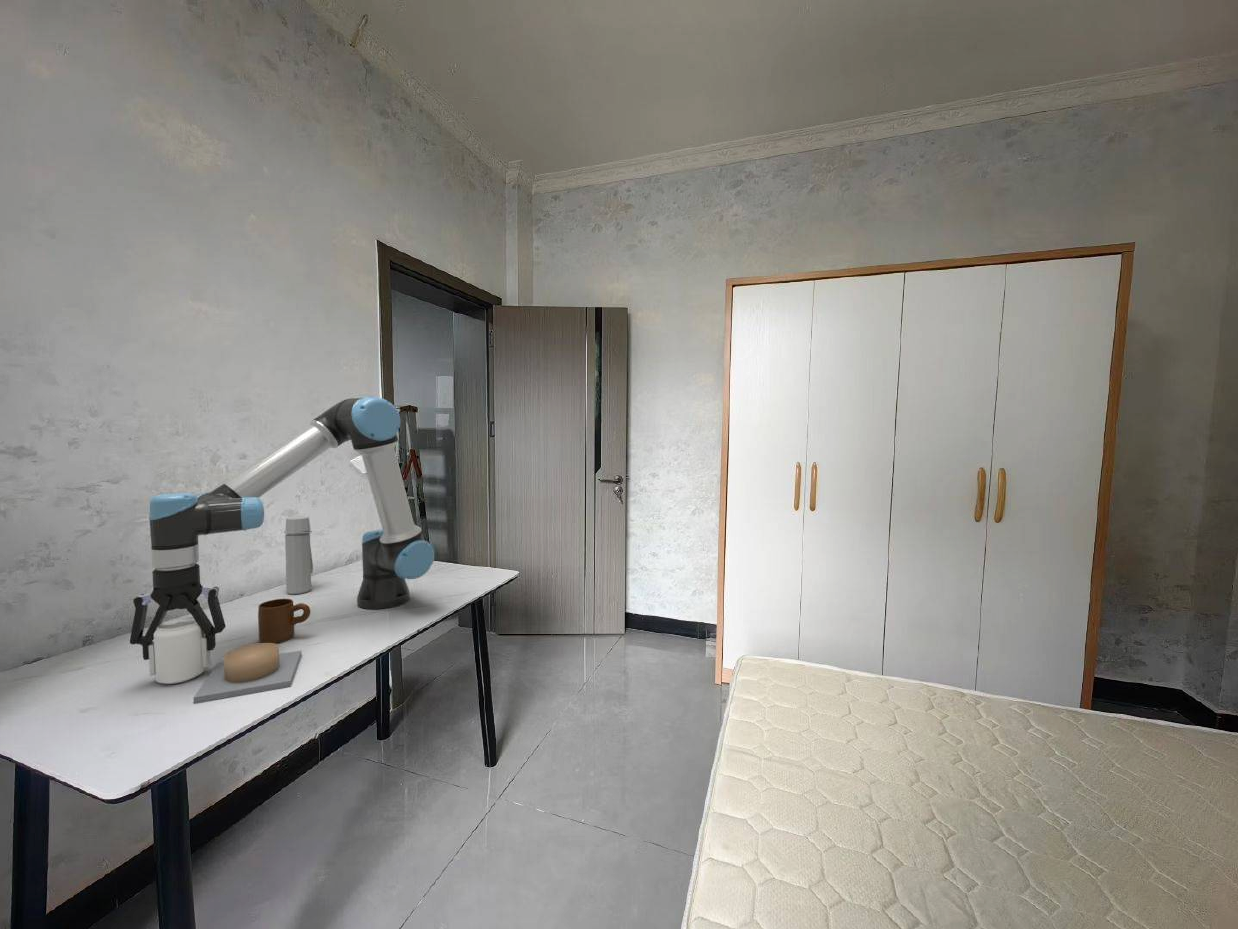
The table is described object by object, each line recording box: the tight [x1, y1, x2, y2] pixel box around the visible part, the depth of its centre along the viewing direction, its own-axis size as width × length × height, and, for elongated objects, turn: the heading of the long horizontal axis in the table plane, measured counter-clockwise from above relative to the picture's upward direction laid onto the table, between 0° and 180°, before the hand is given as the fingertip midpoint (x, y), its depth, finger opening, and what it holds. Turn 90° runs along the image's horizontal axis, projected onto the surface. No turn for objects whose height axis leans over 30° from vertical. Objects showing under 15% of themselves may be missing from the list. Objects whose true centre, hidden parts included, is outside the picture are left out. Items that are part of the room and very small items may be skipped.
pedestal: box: [193, 642, 302, 704], centre depth 107 cm, size 16×16×6 cm
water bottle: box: [283, 515, 314, 595], centre depth 165 cm, size 9×8×25 cm
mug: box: [257, 598, 312, 644], centre depth 127 cm, size 12×8×9 cm, turn 97°
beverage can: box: [153, 616, 207, 685], centre depth 106 cm, size 8×8×12 cm
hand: (181, 668), depth 107 cm, fingers closed on beverage can, 8 cm apart
